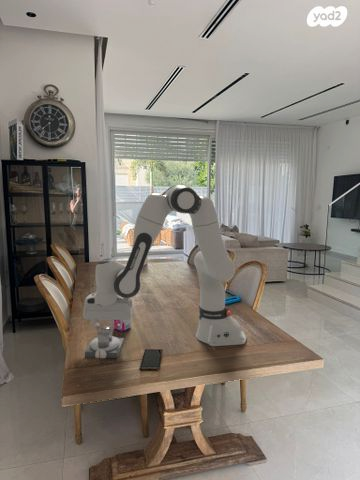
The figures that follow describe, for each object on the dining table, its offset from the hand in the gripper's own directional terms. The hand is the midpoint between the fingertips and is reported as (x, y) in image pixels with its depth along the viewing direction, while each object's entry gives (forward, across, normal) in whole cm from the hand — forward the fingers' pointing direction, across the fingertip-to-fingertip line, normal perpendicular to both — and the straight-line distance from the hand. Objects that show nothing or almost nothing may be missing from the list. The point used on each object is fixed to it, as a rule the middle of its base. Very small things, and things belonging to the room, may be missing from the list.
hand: (108, 328), depth 138 cm
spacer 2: (+4, +1, +7) cm, 8 cm away
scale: (+8, +1, +4) cm, 9 cm away
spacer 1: (+4, 0, +1) cm, 5 cm away
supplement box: (+8, -2, -16) cm, 18 cm away
